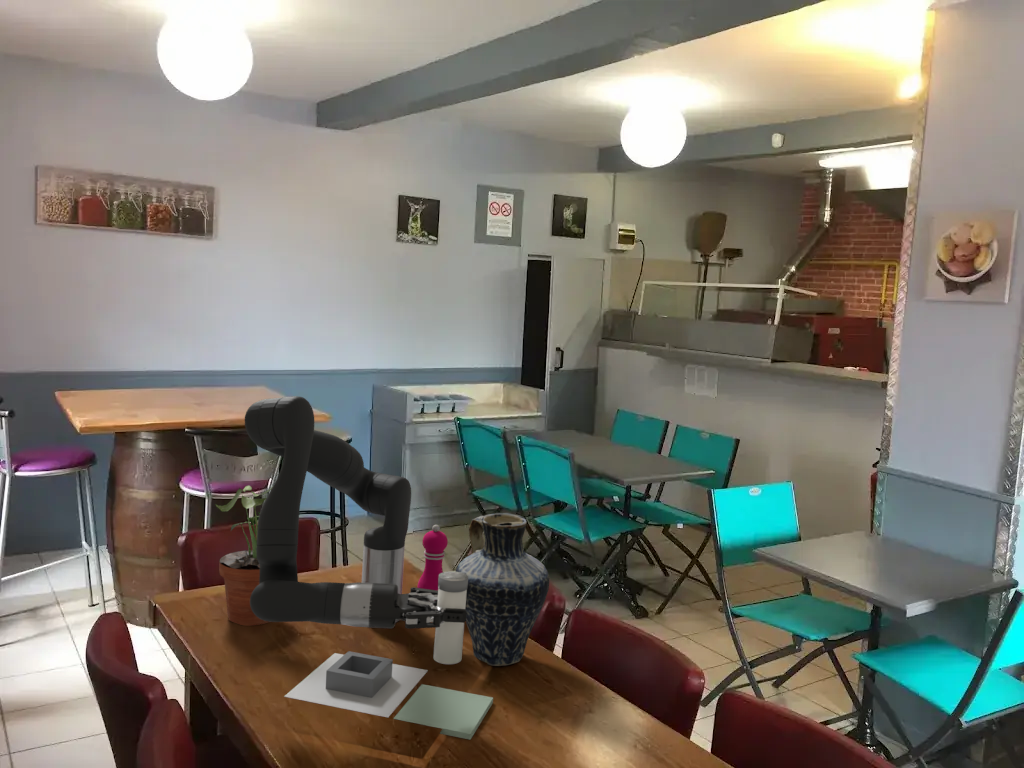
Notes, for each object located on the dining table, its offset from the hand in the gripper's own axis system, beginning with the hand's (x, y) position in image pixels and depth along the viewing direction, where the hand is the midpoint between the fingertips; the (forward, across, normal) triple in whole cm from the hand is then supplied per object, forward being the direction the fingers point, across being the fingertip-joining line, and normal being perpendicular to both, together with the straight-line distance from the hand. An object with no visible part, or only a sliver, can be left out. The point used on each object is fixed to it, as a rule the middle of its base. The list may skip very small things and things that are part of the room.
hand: (465, 609), depth 148 cm
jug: (+7, +24, +19) cm, 32 cm away
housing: (-19, +8, +19) cm, 28 cm away
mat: (-2, 0, +19) cm, 19 cm away
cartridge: (-3, 0, +9) cm, 9 cm away
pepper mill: (-7, +52, +19) cm, 56 cm away
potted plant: (-47, +41, +20) cm, 65 cm away
